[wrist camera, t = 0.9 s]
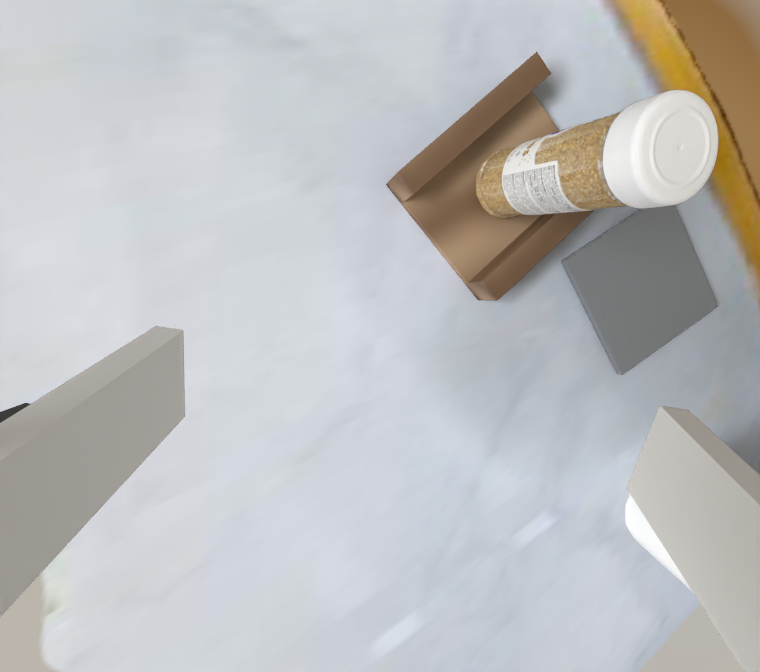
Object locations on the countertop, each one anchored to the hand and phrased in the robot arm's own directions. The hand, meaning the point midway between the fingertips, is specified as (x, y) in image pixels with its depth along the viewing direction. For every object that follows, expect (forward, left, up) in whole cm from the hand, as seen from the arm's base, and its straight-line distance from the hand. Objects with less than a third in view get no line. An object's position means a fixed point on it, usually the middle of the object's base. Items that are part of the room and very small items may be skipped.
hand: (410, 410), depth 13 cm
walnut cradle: (-3, +15, -18) cm, 24 cm away
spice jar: (-3, +15, -18) cm, 24 cm away
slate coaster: (+9, +22, -18) cm, 30 cm away
